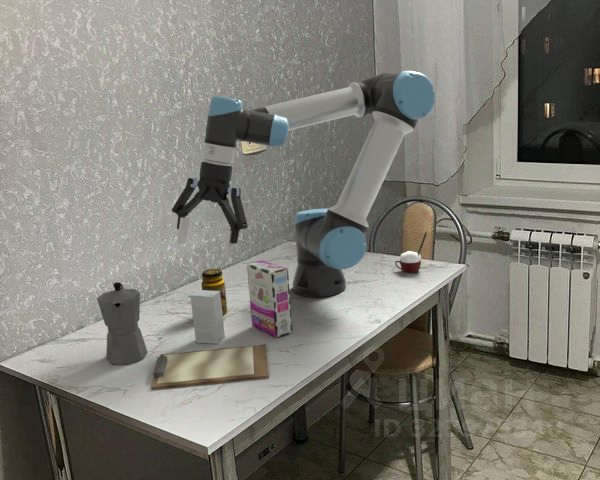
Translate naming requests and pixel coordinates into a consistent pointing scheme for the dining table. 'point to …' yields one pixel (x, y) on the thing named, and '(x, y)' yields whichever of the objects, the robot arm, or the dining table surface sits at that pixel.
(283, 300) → the candy bar box
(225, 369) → the clipboard
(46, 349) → the dining table surface
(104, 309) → the coffeepot
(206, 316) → the skincare box
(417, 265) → the cocoa
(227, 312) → the condiment
